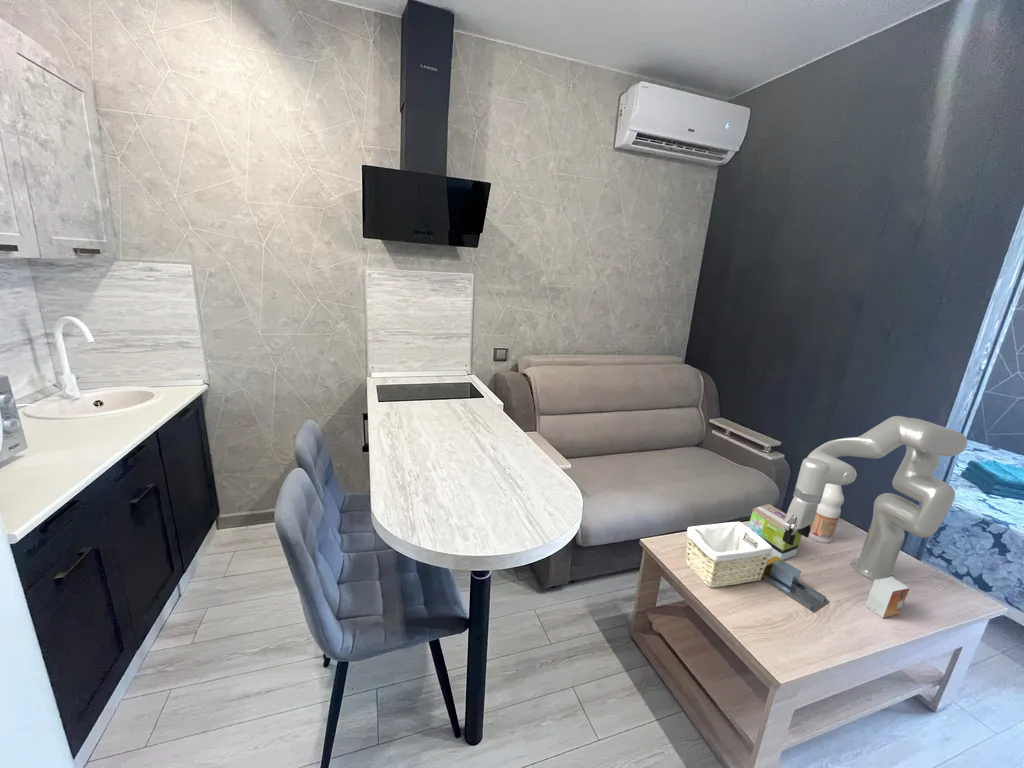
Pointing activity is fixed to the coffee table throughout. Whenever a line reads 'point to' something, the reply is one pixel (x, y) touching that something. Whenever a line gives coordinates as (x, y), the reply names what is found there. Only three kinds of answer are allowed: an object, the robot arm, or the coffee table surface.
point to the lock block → (785, 574)
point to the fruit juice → (827, 514)
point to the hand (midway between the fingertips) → (795, 539)
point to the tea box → (773, 530)
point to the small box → (887, 597)
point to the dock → (797, 590)
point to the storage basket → (726, 554)
